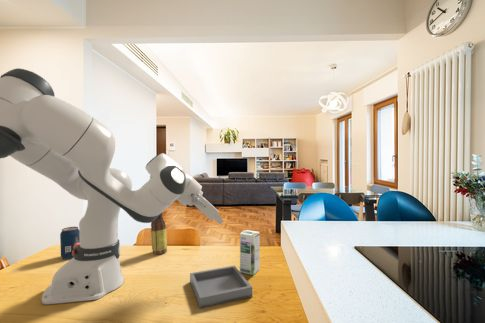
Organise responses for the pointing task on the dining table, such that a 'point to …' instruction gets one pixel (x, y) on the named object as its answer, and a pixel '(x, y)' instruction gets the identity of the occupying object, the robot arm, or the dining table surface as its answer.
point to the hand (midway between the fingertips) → (217, 218)
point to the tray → (219, 286)
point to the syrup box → (249, 252)
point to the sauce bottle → (158, 235)
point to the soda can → (68, 241)
